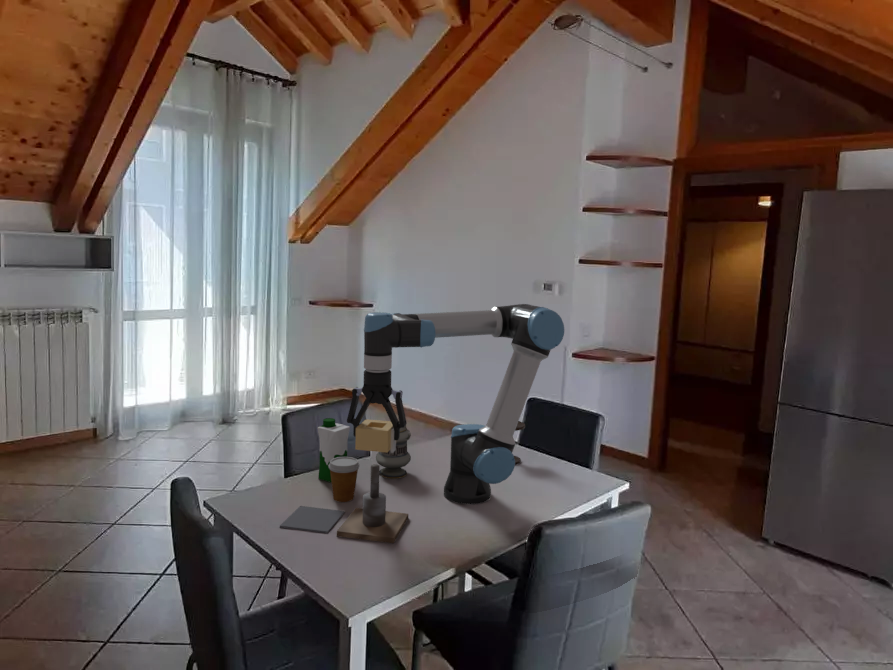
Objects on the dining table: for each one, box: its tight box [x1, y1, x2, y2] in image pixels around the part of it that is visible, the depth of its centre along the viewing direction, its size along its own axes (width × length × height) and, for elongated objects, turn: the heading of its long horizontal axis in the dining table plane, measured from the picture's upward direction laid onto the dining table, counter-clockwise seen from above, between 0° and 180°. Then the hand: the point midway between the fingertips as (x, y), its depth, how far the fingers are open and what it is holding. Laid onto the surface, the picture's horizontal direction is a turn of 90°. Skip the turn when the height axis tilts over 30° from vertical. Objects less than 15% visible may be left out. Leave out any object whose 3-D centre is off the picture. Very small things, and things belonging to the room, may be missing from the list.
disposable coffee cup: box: [329, 456, 360, 503], centre depth 197 cm, size 10×10×12 cm
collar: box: [354, 418, 393, 453], centre depth 175 cm, size 9×9×6 cm
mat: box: [279, 505, 346, 534], centre depth 182 cm, size 14×14×1 cm
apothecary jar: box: [375, 422, 412, 480], centre depth 220 cm, size 12×12×18 cm
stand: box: [336, 463, 409, 544], centre depth 178 cm, size 16×16×18 cm
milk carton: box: [317, 417, 351, 484], centre depth 213 cm, size 9×9×20 cm
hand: (376, 449), depth 176 cm, fingers closed on collar, 9 cm apart
